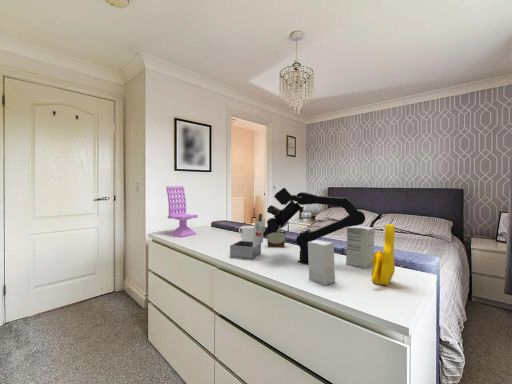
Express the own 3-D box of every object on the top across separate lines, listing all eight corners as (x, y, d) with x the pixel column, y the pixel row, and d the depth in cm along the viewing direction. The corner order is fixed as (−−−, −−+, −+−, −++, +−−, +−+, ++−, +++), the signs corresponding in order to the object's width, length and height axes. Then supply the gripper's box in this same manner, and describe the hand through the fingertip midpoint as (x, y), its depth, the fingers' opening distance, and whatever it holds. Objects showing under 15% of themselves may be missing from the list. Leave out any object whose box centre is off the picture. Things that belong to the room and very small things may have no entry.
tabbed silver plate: (260, 241, 133) (265, 242, 132) (252, 246, 122) (257, 247, 121) (263, 212, 132) (268, 213, 131) (255, 215, 121) (260, 215, 120)
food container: (286, 245, 152) (286, 228, 152) (286, 247, 146) (286, 230, 145) (266, 244, 153) (266, 228, 153) (265, 247, 147) (265, 230, 147)
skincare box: (335, 282, 94) (335, 242, 94) (324, 286, 91) (324, 244, 90) (317, 275, 101) (318, 238, 101) (307, 279, 97) (307, 240, 97)
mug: (257, 242, 160) (257, 226, 160) (254, 245, 151) (254, 228, 151) (240, 241, 162) (240, 225, 161) (236, 244, 153) (236, 227, 153)
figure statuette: (375, 273, 103) (376, 220, 103) (397, 278, 99) (398, 221, 98) (366, 288, 89) (366, 226, 88) (391, 294, 84) (392, 228, 84)
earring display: (181, 237, 173) (181, 186, 172) (165, 234, 182) (165, 186, 181) (197, 234, 185) (197, 186, 184) (181, 231, 195) (181, 186, 194)
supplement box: (354, 260, 122) (355, 225, 122) (374, 264, 116) (375, 227, 116) (345, 263, 115) (346, 226, 115) (366, 268, 109) (367, 229, 109)
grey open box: (260, 253, 133) (260, 242, 133) (252, 260, 122) (252, 247, 122) (240, 251, 137) (240, 240, 137) (230, 257, 126) (230, 245, 126)
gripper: (282, 199, 132) (262, 219, 136) (271, 201, 114) (248, 224, 119) (297, 214, 129) (276, 234, 133) (288, 219, 112) (264, 242, 116)
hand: (266, 233), depth 125 cm, fingers open, 9 cm apart
